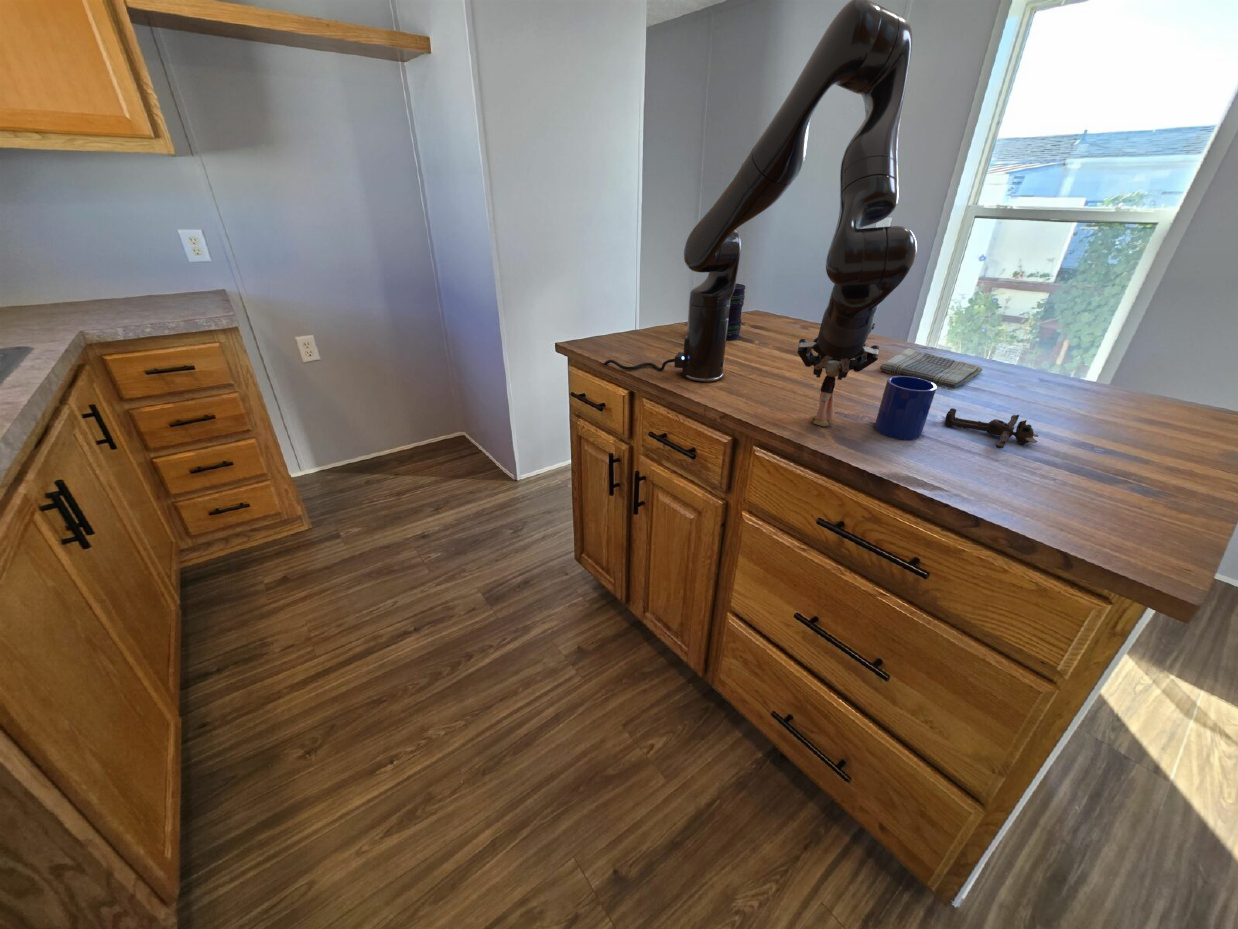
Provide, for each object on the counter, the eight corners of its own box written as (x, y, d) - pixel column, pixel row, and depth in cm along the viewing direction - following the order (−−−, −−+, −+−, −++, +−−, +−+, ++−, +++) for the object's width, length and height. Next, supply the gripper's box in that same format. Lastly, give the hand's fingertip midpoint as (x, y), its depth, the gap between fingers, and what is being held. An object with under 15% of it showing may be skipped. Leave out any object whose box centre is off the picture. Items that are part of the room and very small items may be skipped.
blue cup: (876, 435, 94) (890, 387, 90) (872, 419, 101) (885, 373, 96) (924, 442, 92) (940, 393, 88) (917, 425, 99) (932, 378, 94)
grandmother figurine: (834, 429, 97) (850, 365, 91) (813, 427, 97) (827, 363, 91) (828, 414, 103) (842, 353, 97) (808, 412, 104) (821, 351, 98)
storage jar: (706, 340, 151) (711, 287, 144) (706, 331, 160) (711, 282, 152) (740, 341, 150) (746, 289, 142) (739, 333, 158) (745, 283, 151)
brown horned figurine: (959, 396, 104) (1049, 408, 95) (955, 415, 106) (1042, 429, 97) (937, 422, 92) (1037, 439, 83) (932, 444, 94) (1029, 463, 85)
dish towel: (955, 391, 115) (959, 377, 113) (877, 371, 127) (880, 359, 125) (982, 373, 126) (987, 361, 124) (908, 357, 137) (911, 345, 136)
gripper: (896, 308, 81) (870, 361, 97) (803, 302, 85) (794, 353, 101) (891, 350, 79) (866, 396, 95) (796, 341, 83) (788, 387, 99)
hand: (829, 374), depth 98 cm, fingers closed on grandmother figurine, 3 cm apart
